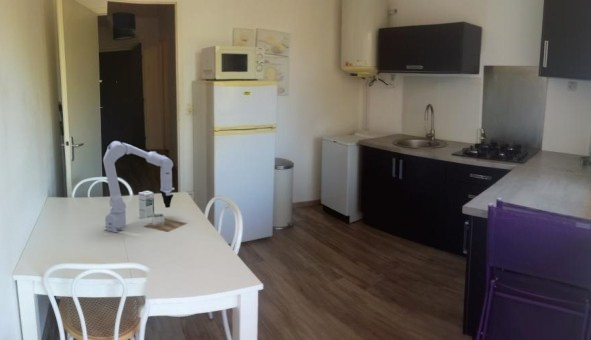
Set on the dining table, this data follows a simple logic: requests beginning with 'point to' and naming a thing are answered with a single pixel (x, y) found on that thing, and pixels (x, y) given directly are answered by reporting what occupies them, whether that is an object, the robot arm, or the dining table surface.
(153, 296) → the dining table surface
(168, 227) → the board
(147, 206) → the syrup box
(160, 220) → the cube with square recess
